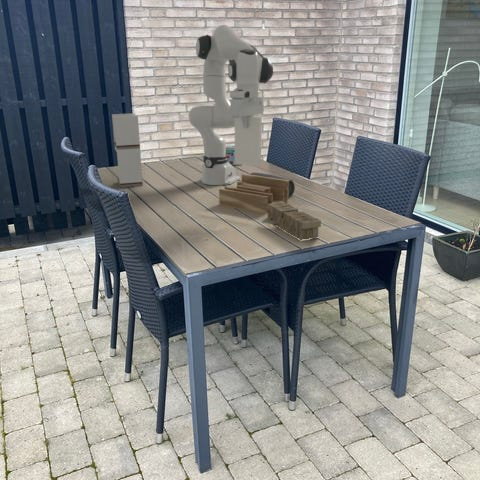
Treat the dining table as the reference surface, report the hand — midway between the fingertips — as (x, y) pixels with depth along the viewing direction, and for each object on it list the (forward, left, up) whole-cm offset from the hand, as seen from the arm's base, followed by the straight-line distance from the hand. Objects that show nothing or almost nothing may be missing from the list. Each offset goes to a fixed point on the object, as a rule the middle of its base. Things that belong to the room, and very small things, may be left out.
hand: (247, 127), depth 214 cm
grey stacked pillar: (-5, -75, -36) cm, 83 cm away
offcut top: (-6, 0, -29) cm, 30 cm away
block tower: (+12, +28, -36) cm, 47 cm away
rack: (-5, 0, -36) cm, 36 cm away
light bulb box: (-75, -56, -36) cm, 101 cm away
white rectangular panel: (0, 0, -16) cm, 16 cm away
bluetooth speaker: (-25, -3, -36) cm, 44 cm away
